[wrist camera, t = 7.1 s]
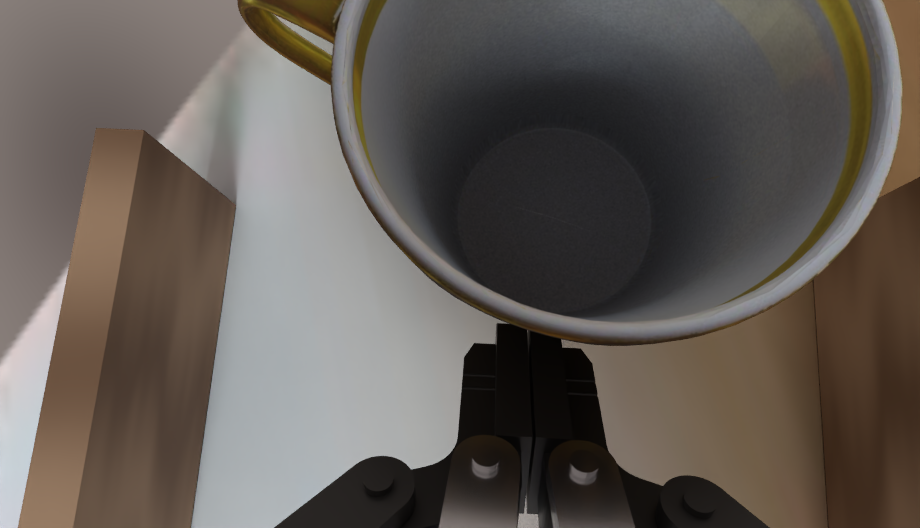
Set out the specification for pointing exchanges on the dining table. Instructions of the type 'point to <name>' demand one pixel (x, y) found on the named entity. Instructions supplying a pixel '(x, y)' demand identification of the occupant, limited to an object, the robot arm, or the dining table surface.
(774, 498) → the dining table surface
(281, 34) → the ceramic cup
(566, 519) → the robot arm
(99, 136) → the walnut lane
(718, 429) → the dining table surface
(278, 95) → the dining table surface
